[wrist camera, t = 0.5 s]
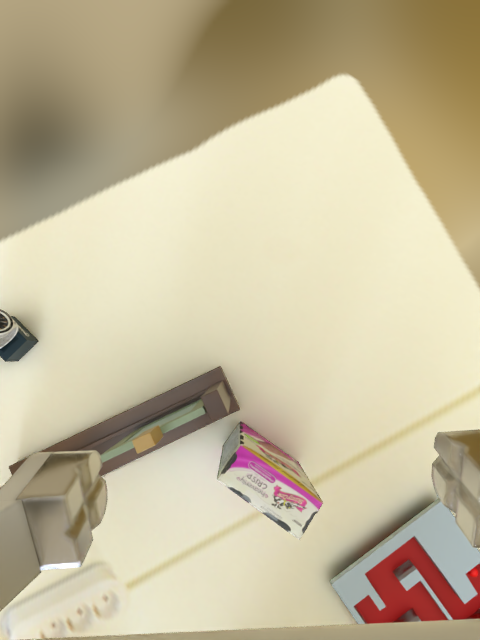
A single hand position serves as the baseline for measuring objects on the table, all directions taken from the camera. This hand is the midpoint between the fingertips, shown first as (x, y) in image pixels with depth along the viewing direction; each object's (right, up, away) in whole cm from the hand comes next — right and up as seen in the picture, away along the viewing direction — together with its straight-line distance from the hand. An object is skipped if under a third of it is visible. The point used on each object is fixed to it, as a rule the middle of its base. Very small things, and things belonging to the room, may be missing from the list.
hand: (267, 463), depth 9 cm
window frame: (-18, -14, +47) cm, 52 cm away
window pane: (-10, -10, +45) cm, 48 cm away
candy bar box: (+3, -17, +47) cm, 50 cm away
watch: (-35, +1, +49) cm, 60 cm away
